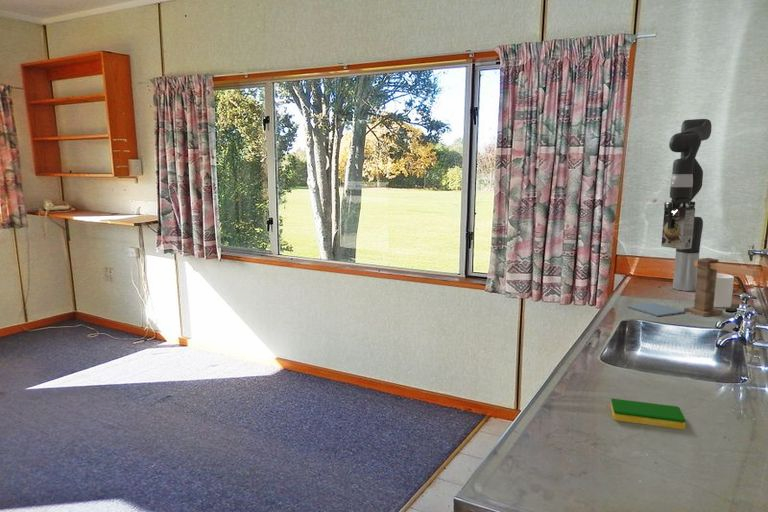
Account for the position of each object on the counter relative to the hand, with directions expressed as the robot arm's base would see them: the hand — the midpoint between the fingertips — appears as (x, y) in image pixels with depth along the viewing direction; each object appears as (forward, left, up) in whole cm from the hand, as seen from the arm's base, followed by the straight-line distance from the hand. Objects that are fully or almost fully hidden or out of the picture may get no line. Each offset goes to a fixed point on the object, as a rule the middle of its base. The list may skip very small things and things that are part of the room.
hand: (677, 228), depth 205 cm
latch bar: (0, +21, -14) cm, 25 cm away
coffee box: (0, 0, -8) cm, 8 cm away
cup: (-15, +7, -31) cm, 35 cm away
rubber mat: (+14, +5, -31) cm, 34 cm away
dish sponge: (+90, +70, -32) cm, 118 cm away
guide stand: (0, +14, -31) cm, 34 cm away
